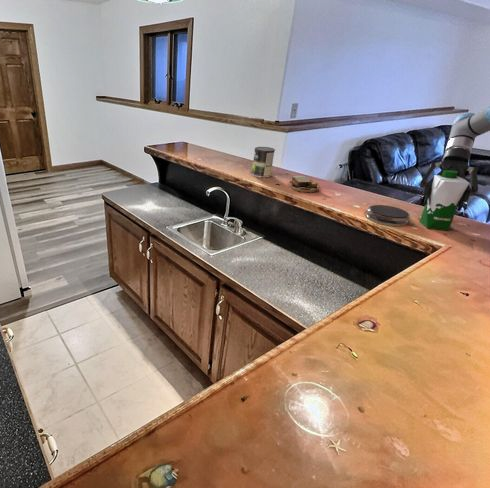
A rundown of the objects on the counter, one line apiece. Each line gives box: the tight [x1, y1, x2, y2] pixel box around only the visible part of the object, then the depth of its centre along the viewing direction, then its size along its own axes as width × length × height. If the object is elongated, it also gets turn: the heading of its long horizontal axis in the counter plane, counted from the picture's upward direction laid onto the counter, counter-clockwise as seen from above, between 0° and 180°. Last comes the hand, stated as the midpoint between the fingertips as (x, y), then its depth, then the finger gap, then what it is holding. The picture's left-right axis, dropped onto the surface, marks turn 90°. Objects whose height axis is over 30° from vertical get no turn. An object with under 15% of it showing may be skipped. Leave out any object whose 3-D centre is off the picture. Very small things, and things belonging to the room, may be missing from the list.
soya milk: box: [419, 170, 470, 231], centre depth 125 cm, size 9×9×20 cm
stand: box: [365, 204, 411, 228], centre depth 134 cm, size 14×14×4 cm
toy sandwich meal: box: [289, 175, 319, 193], centre depth 167 cm, size 12×14×5 cm
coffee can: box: [251, 146, 276, 179], centre depth 185 cm, size 10×10×14 cm
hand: (442, 206), depth 123 cm, fingers closed on soya milk, 9 cm apart
